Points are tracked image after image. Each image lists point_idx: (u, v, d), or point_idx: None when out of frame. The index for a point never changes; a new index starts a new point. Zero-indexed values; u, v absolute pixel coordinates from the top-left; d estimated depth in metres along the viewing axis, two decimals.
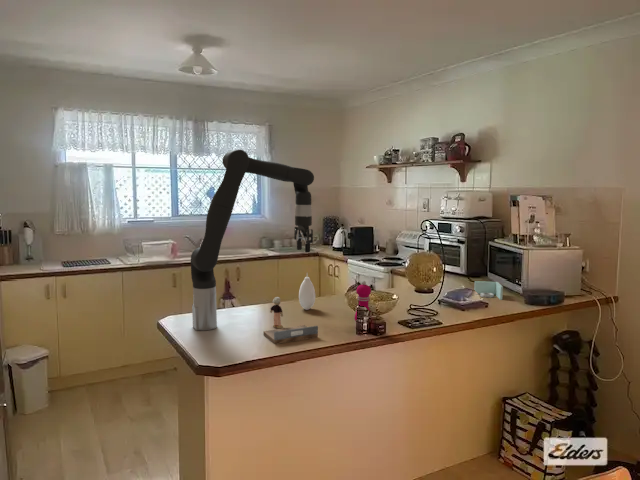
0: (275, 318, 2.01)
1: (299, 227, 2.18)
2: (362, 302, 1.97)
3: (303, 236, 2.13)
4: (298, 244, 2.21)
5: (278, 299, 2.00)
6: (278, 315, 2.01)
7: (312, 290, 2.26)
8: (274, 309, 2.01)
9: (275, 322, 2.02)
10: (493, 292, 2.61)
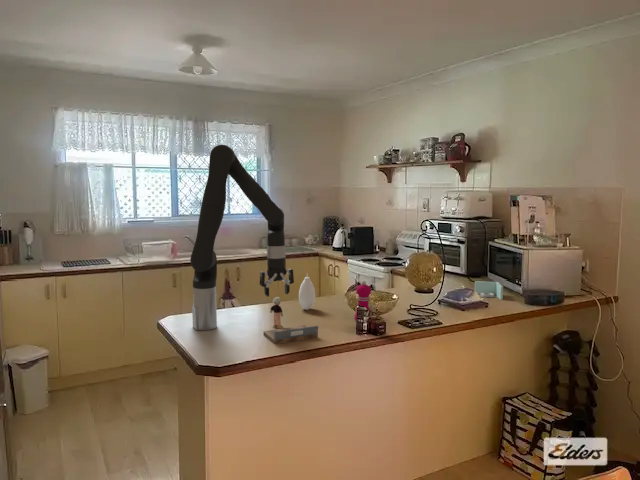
0: (275, 318, 2.01)
1: (273, 270, 1.98)
2: (362, 302, 1.97)
3: (286, 278, 2.00)
4: None
5: (278, 299, 2.00)
6: (278, 315, 2.01)
7: (312, 290, 2.26)
8: (274, 309, 2.01)
9: (275, 322, 2.02)
10: (493, 292, 2.61)
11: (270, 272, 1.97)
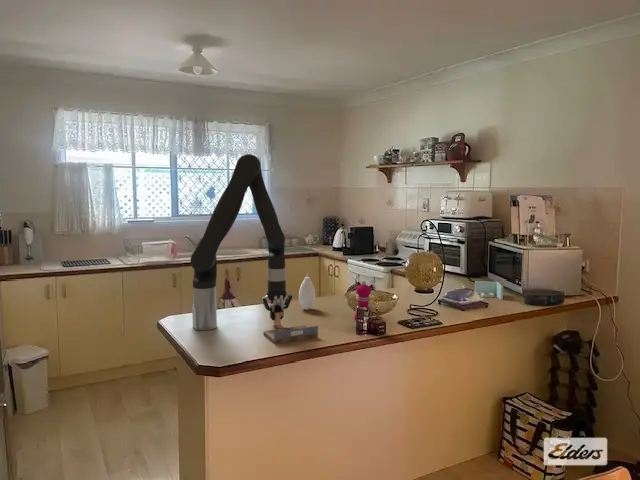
0: (275, 318, 2.01)
1: (273, 293, 1.99)
2: (362, 302, 1.97)
3: (283, 302, 2.01)
4: None
5: (278, 299, 2.00)
6: (278, 315, 2.01)
7: (312, 290, 2.26)
8: None
9: (275, 322, 2.02)
10: (493, 292, 2.61)
11: (270, 295, 1.98)
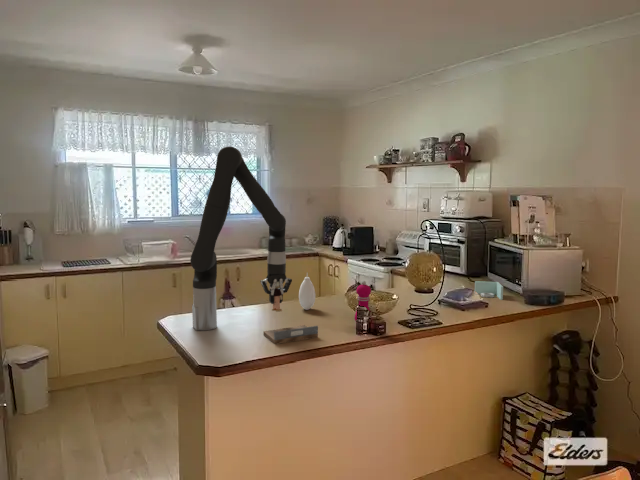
0: (274, 301, 2.01)
1: (273, 276, 1.98)
2: (362, 302, 1.97)
3: None
4: None
5: (278, 282, 1.99)
6: (277, 298, 2.00)
7: (312, 290, 2.26)
8: (274, 292, 2.00)
9: (274, 306, 2.01)
10: (493, 292, 2.61)
11: (269, 278, 1.98)
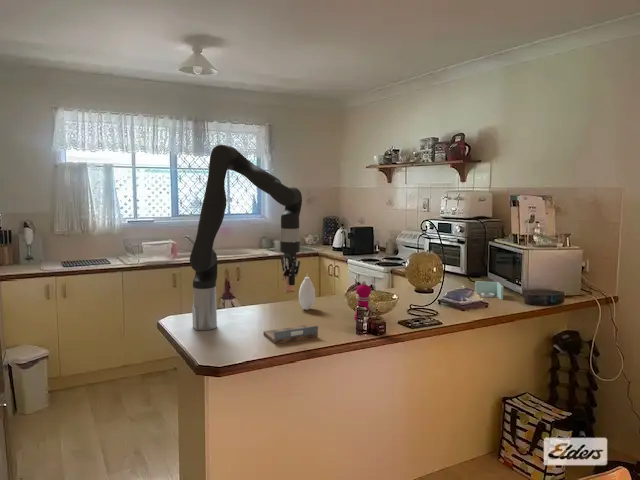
0: None
1: (285, 254, 1.87)
2: (362, 302, 1.97)
3: (288, 267, 1.84)
4: None
5: None
6: None
7: (312, 290, 2.26)
8: None
9: None
10: (494, 292, 2.61)
11: (284, 255, 1.89)
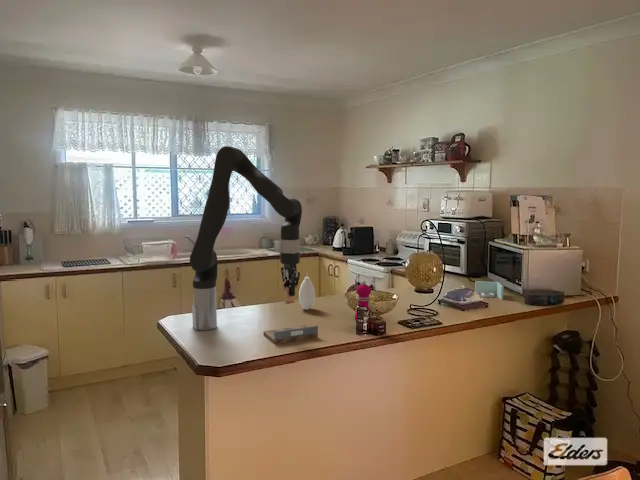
0: None
1: (285, 265, 1.88)
2: (362, 302, 1.97)
3: (288, 278, 1.85)
4: None
5: None
6: None
7: (312, 290, 2.26)
8: None
9: None
10: (494, 292, 2.61)
11: (284, 266, 1.89)
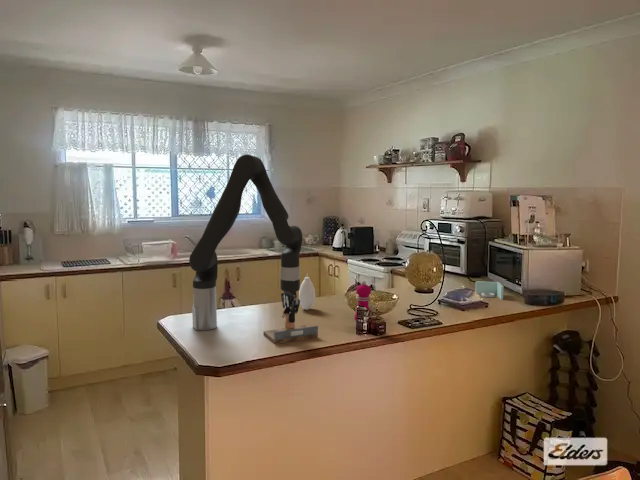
0: None
1: (285, 291, 1.89)
2: (362, 302, 1.97)
3: (288, 304, 1.86)
4: None
5: None
6: None
7: (312, 290, 2.26)
8: None
9: None
10: (494, 292, 2.61)
11: (284, 292, 1.91)
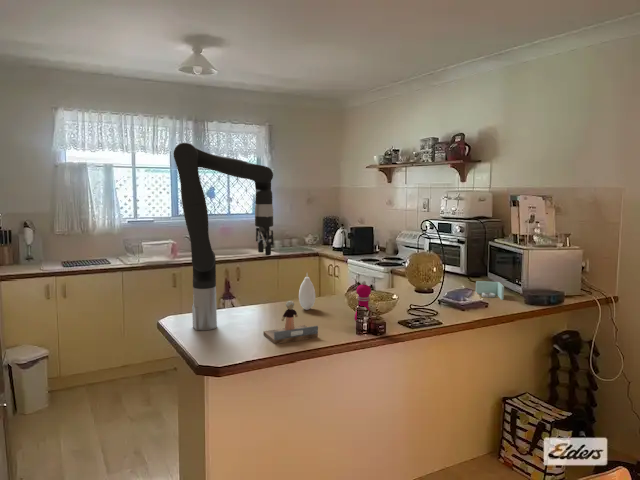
0: None
1: (260, 228, 2.03)
2: (362, 302, 1.97)
3: (263, 238, 1.98)
4: (259, 246, 2.06)
5: (287, 303, 1.88)
6: None
7: (312, 290, 2.26)
8: None
9: None
10: (494, 292, 2.61)
11: (259, 229, 2.04)
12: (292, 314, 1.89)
